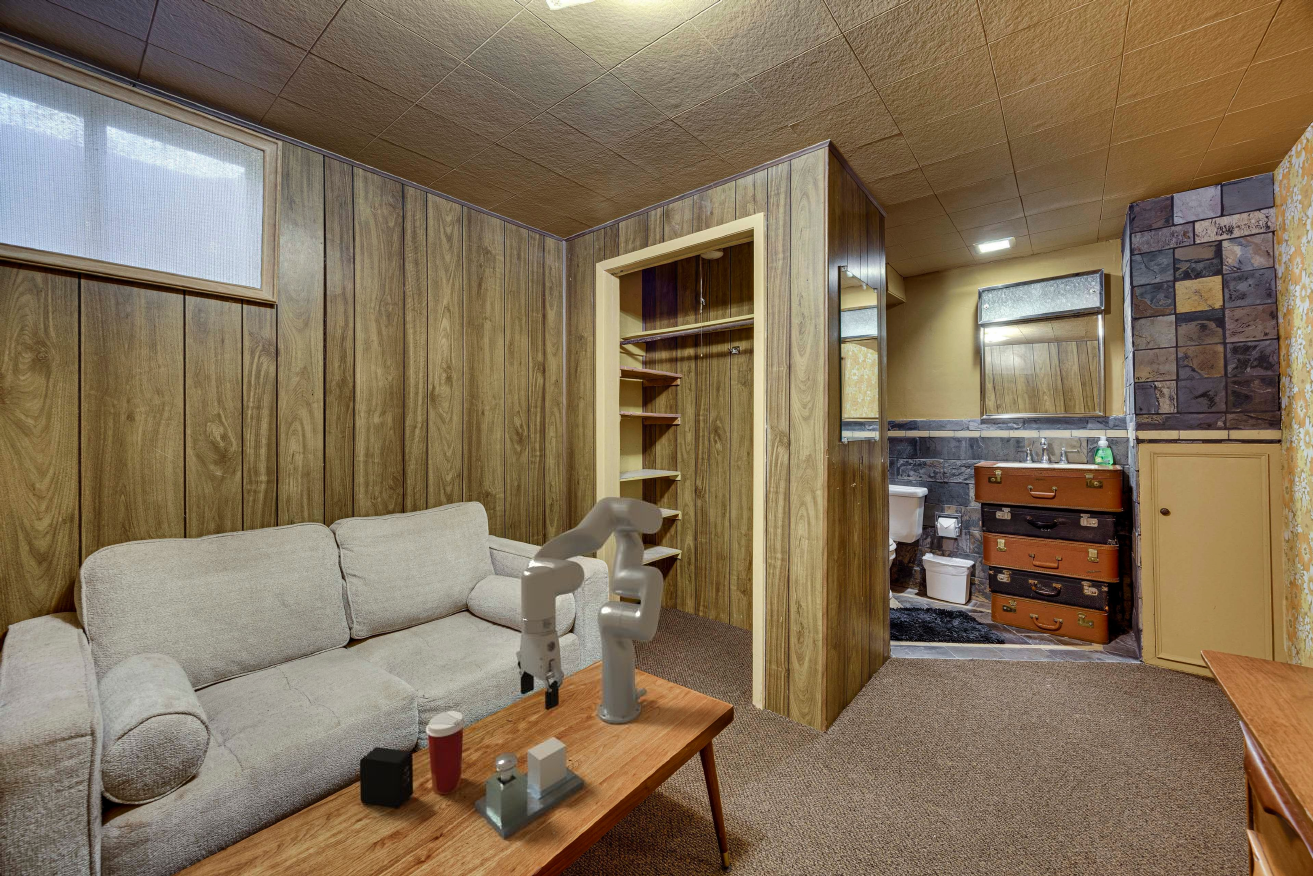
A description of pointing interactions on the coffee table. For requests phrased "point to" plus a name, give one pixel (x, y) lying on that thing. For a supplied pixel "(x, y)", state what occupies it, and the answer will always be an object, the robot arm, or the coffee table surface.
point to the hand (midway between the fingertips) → (539, 699)
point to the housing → (546, 763)
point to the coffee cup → (445, 750)
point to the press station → (522, 800)
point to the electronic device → (386, 777)
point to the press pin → (506, 766)
